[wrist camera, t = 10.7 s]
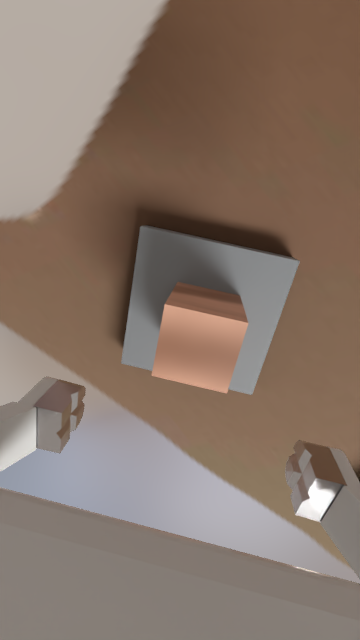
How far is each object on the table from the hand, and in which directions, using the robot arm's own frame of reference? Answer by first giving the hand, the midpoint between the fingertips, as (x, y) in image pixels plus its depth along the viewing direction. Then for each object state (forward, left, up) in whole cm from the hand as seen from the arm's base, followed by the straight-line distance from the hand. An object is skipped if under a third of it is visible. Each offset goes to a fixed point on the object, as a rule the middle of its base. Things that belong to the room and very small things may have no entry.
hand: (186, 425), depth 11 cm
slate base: (0, 0, -15) cm, 15 cm away
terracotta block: (0, 0, -13) cm, 13 cm away
